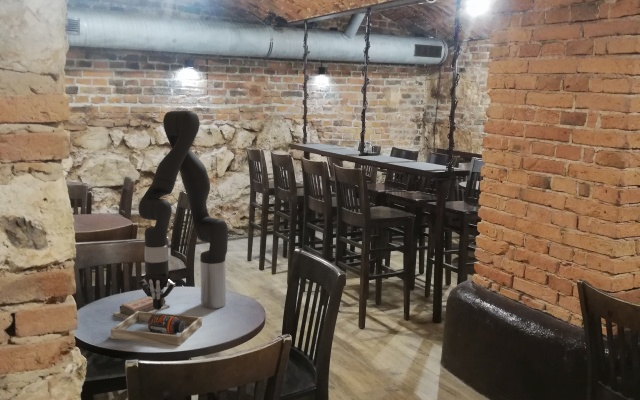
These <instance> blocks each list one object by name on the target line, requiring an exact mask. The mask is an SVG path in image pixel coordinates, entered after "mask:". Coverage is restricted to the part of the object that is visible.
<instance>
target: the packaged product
mask: <svg viewBox="0 0 640 400" xmlns="http://www.w3.org/2000/svg"><path fill="white" fill-rule="evenodd" d="M168 308H169V309H170V304H169V305H168V304H167V303H166V299H165V298H163V307H162V308H161V309H160V310H155V308H154V307H153V298H152V297H148V296H147V295H146V296H145V295H144V296H142V297H140V298H137V299H134V300H131V301H128V302H125V303H122V304H120V306H119V310H117V311H113V316H114V317H117V318H120V319H123V320H125V319H127V318H128V317H130V316H131V315H133V314H134V313H136V312H137V311H141V312H152V313H159V312H160V311H163V310H166V309H168Z"/></svg>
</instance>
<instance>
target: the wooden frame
mask: <svg viewBox="0 0 640 400" xmlns="http://www.w3.org/2000/svg"><path fill="white" fill-rule="evenodd" d="M153 314H158V315H166V316H173V317H177V318H178V319H179V320H181V321H184V323H185V326H187V328H184V331H183V332H182V333H179V335H178V334H177V335H176V334H174V335H170V334H163V333H156V332H150V331H149V332H148V331H140V330H139V331H137V330H131V329H130V330H128V329H129V328H130V327H132V326H133V325H134V324H136V323H137V322H139V321H143V322H144V321H145V322H148V321H149V318H150V317H151V315H153ZM202 322H203V317H202V316H195V315H194V316H191V315H183V314H182V315H181V314H172V313H161V312H160V313H159V312H156V313H152V312H141V311H137V312H136V313H134V314H133V315H131V316H130V317H128V318H127V319H123V321H121V322H119V323H118V324H116V325H115V326H114V327H112V328H111V329H110V338H111V339H114V340H121V341H122V340H124V341H134V342H141V343H143V342H144V343H151V342H152V344H159V345H160V344H163V345H170V346H171V345H172V346H181V345H182V344H183V343H185V342H186V341H187V340H188V339H189V338H190V337H191V336H192V335H193V334H194V333H196V332H197V331H198V329H200V328H201V327H202V326H203V323H202Z"/></svg>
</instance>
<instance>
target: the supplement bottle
mask: <svg viewBox="0 0 640 400" xmlns="http://www.w3.org/2000/svg"><path fill="white" fill-rule="evenodd" d="M185 327H186V325H185V323H184V321H181V320H179V319H178V318H177V317H173V316H166V315H158V314H153V315H151V317H150V318H149V321H147V329H148V330H149V332H150V333H159V334H169V335H176V334H177V333H178V334H181V333H182V332H183V331H184V330H185Z"/></svg>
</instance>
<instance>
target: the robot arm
mask: <svg viewBox="0 0 640 400" xmlns="http://www.w3.org/2000/svg"><path fill="white" fill-rule="evenodd" d="M162 121H163V122H162V123H163V131H164V132H165V136H166V138H167V140H168V143H169V145H170V148H171V149H170V150H169V152H168V153H166V155H165V156H164V157H163V158H162V160H161V161H160V162H159V164H158V165H157V168H156V170H155V173H154V176H153V180H152V182H151V185H150V186H149V187H148V189H147V190H146V192H145V193H144V195H142V198H141V199H140V202H139V204H138V207H137V208H138V209H137V210H138V215H139V216H140V217H141V218H142V219H144V220H151V221H155V225H154V226H149V227H147V228H145V231H144V273H145V275H144V277H143V279H142V280H140V281H138V285H139V287H140V288H141V289H142V291H143V292H144V294H145V295H146V296H148V297H152V298H153V307H154V308H155V310H160V309H161V308H162V307H163V298H164V299H165V298H166V297H167V296H169V295H170V293H171V292H172V291H173V289H174V288H175V287H176V285H177V282H175V281H174V282H173V281H172V280H171V278H170V276H169V270H170V269H169V250H168V234H167V233H168V229H169V224H170V221H171V217H172V213H173V209H172V205H171V203H170V202H169V200H167V199H165V198H162V197H163V196H168V195H171V194H172V193H173V190H174V187H175V185H176V181H177V178H178V174H179V173H180V178H181V181H182V185H183V188H184V190H185V193H186V197H187V201H188V204H189V208H190V209H189V210H190V212H191V218H192V223H193V224H192V225H193V227H194V228H193V230H194V233H195V236H196V238H197V239H198V240H199V241H201V242H204V243H209V247H208V248H209V249H208V250H204V251H203V252H201V253H200V257H199V258H200V261H199V262H200V263H199V264H200V269H199V270H200V305H201V308H204V309H210V310H211V309H212V310H213V309H220V308H223V307H225V306H226V305H227V298H226V297H227V296H226V294H227V293H226V292H227V288H226V282H227V281H226V276H227V275H226V271H227V270H226V256H227V252H228V243H229V242H228V239H229V238H228V237H229V228H228V225H227V222H226V221H225V220H224V219H220V218H216V217H215V218H213V217H211V216H210V213H209V210H208V206H207V201H208V197H209V194H210V190H211V181H210V177H209V175H208V171H207V168H206V166H205V165H204V163H203V162H202V161H201V159H200V158H199V157H198V155H196V154H195V153H194V151H193V150H192V149H191V148H192V145H193V143H194V141H195V139H196V137H197V136H198V133H199V129H200V117H199V115H198V114H197V113H196V112H195V111H192V110H170V111H167V112H166V113H165V114H164V116H163V120H162ZM165 287H167V288H166V289H165Z"/></svg>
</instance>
